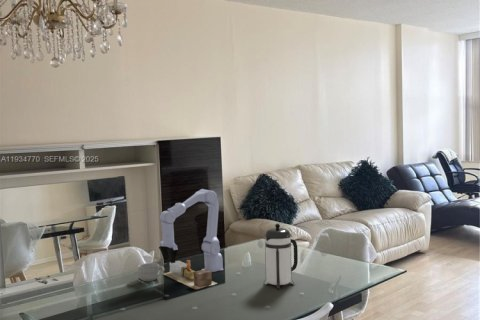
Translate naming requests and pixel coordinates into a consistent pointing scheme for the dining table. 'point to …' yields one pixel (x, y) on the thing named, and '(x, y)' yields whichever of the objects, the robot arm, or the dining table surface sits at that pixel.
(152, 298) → the dining table surface
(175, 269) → the steel block
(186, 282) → the birch board
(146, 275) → the teacup
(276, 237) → the coffee press
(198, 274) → the walnut socket
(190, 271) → the gold square bar
